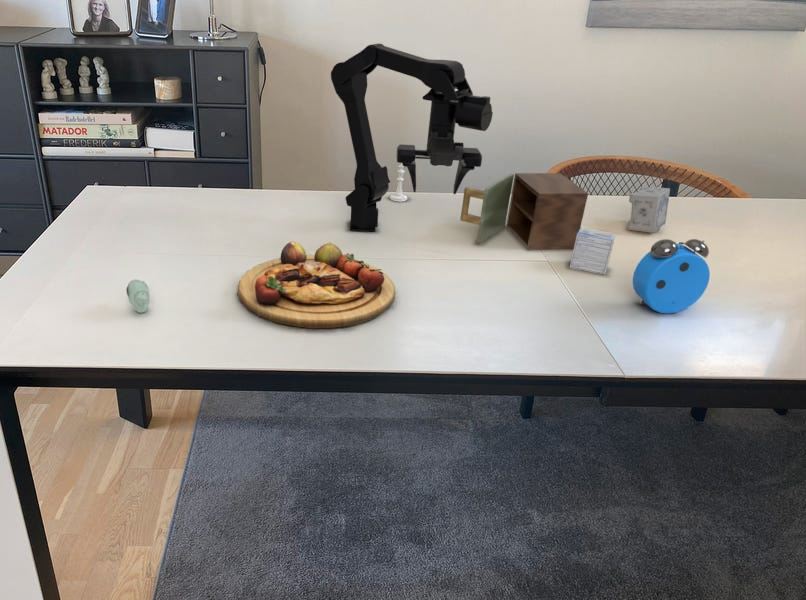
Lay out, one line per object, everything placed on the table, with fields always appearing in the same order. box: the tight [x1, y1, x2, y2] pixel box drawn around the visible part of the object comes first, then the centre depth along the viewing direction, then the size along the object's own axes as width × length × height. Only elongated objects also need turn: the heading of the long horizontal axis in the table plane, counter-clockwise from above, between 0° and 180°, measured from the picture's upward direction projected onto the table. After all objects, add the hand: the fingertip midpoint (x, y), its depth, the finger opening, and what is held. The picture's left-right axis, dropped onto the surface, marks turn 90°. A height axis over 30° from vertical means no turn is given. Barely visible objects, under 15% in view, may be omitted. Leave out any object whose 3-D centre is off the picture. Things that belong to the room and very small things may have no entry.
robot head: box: [126, 279, 150, 314], centre depth 132 cm, size 8×4×7 cm, turn 17°
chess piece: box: [389, 163, 408, 203], centre depth 195 cm, size 5×5×10 cm
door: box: [460, 173, 515, 245], centre depth 174 cm, size 7×16×14 cm, turn 146°
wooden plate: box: [237, 240, 396, 329], centre depth 141 cm, size 32×32×8 cm
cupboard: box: [505, 172, 589, 251], centre depth 173 cm, size 12×16×14 cm
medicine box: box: [569, 226, 616, 275], centre depth 158 cm, size 8×4×9 cm, turn 65°
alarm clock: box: [632, 238, 711, 315], centre depth 140 cm, size 13×6×15 cm, turn 97°
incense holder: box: [627, 186, 671, 233], centre depth 182 cm, size 10×8×10 cm
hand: (434, 192), depth 162 cm, fingers open, 9 cm apart
